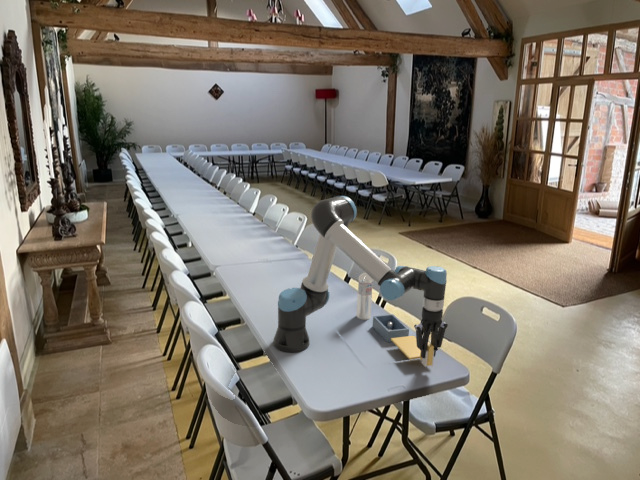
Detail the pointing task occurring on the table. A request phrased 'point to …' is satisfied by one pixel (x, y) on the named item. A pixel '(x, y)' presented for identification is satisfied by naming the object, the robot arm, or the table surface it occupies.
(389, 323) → the part
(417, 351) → the lid
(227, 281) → the table surface
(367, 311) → the water bottle
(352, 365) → the table surface
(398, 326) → the tub
